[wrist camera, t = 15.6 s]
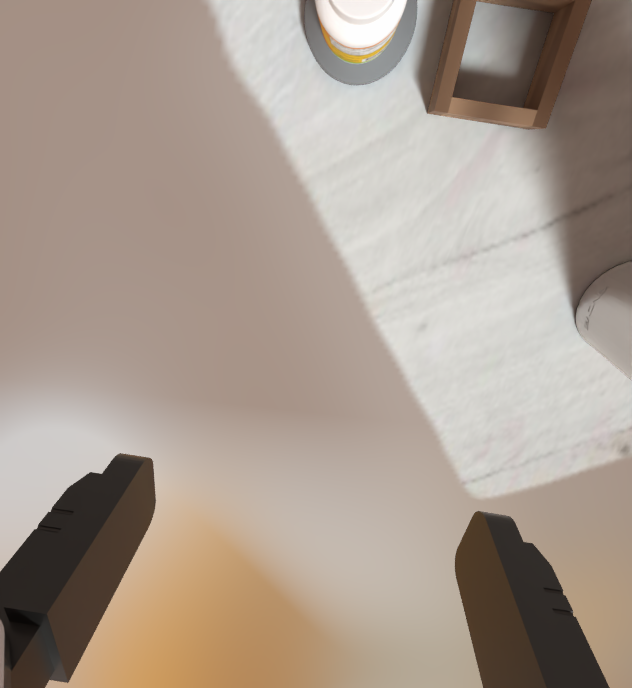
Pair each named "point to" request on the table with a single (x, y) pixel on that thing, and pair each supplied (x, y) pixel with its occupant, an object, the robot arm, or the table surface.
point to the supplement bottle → (359, 26)
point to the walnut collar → (564, 30)
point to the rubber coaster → (364, 71)
